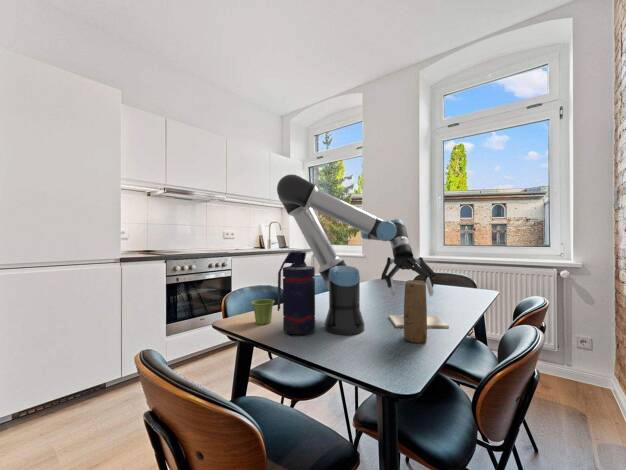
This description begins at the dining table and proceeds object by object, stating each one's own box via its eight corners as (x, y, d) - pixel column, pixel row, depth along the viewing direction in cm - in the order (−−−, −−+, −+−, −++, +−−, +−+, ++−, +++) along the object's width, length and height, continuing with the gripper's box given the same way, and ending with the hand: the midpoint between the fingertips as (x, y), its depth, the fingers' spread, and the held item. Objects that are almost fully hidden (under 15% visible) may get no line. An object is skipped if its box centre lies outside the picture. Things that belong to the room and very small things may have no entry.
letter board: (396, 327, 117) (396, 324, 117) (388, 317, 131) (388, 314, 131) (448, 328, 116) (448, 325, 116) (436, 317, 130) (436, 315, 130)
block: (427, 345, 99) (427, 284, 99) (403, 342, 101) (403, 282, 101) (426, 334, 109) (426, 279, 109) (405, 332, 112) (405, 278, 111)
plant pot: (247, 324, 123) (246, 303, 123) (259, 318, 131) (259, 298, 131) (267, 327, 119) (267, 305, 119) (278, 320, 128) (278, 300, 128)
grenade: (315, 326, 119) (315, 250, 119) (314, 337, 107) (314, 252, 107) (280, 326, 120) (279, 250, 119) (275, 337, 108) (275, 252, 107)
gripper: (372, 244, 122) (379, 288, 107) (435, 243, 121) (450, 288, 106) (370, 256, 127) (376, 299, 113) (430, 255, 127) (444, 299, 112)
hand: (412, 294), depth 109 cm, fingers open, 13 cm apart
